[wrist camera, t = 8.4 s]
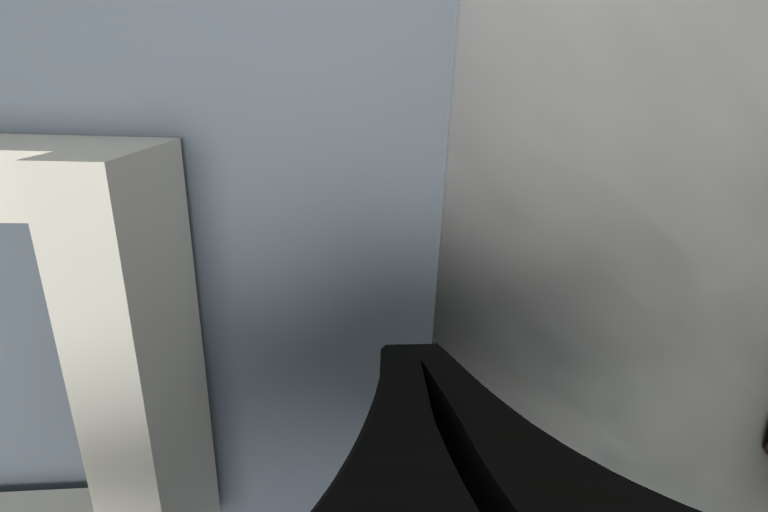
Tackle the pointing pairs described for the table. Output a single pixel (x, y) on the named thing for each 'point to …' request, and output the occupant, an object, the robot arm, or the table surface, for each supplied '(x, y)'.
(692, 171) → the table surface
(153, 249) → the frame
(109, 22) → the base board
